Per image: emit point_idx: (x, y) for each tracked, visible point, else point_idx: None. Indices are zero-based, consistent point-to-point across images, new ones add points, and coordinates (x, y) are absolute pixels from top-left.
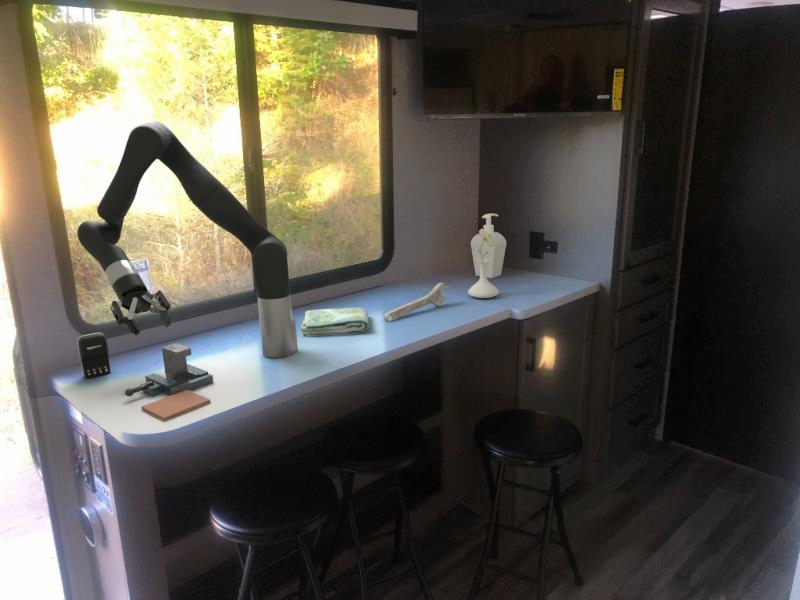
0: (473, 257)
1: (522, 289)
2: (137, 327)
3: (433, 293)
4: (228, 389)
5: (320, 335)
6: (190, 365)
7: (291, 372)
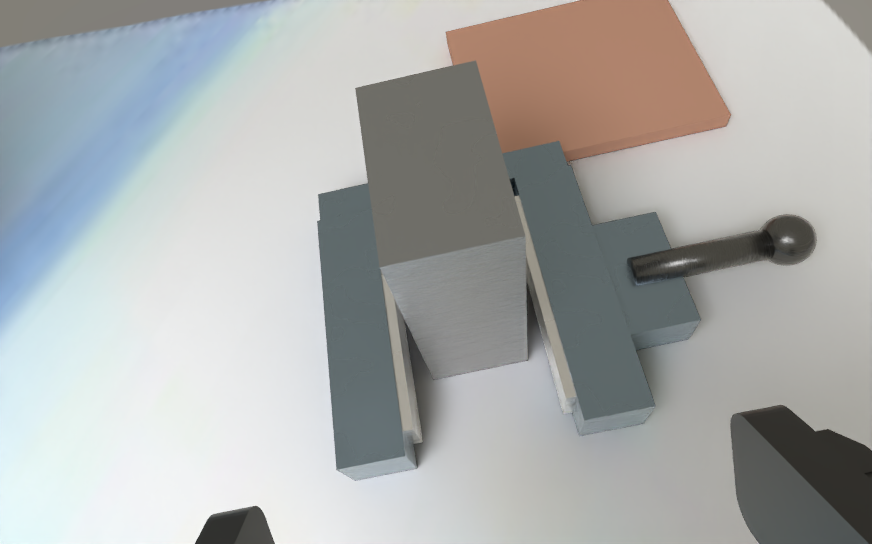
0: None
1: None
2: (786, 439)
3: None
4: (327, 113)
5: None
6: (335, 389)
7: (52, 123)
